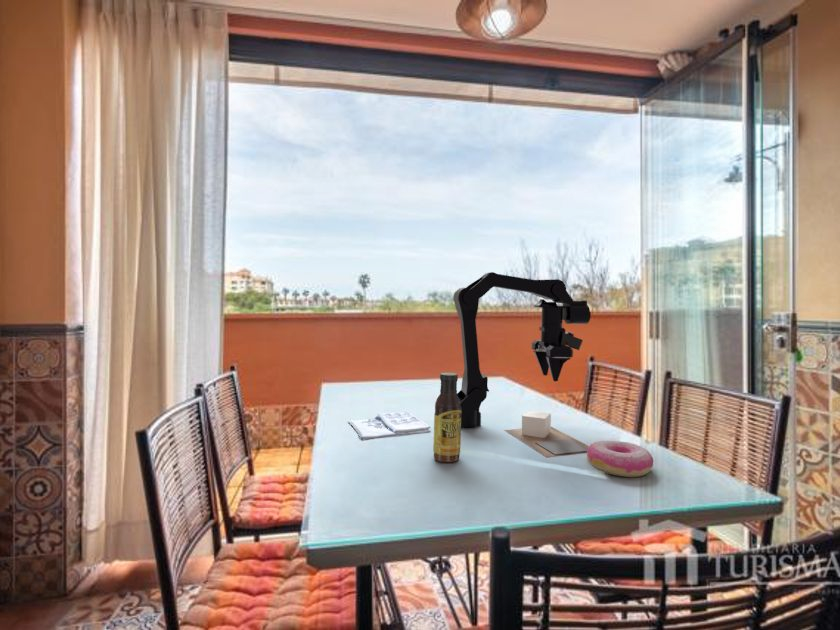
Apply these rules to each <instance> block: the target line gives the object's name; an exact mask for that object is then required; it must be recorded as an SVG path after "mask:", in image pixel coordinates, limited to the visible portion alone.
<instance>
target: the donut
mask: <svg viewBox="0 0 840 630" xmlns="http://www.w3.org/2000/svg"><path fill="white" fill-rule="evenodd" d="M588 446H589V447H588V449H587V453H586V458H587V461H588V463H589V464H590V465H591V466H593V467H594V468H596V469H598V470H601V471H604V473H605V474H608V475H614V476H619V477H627V478H635V477H642V476H644V475H646V474H649V472H651V470H652V469H653V467H654V458H653V456H652V454H651V453H650V452H649V451H648V450H647V449H646V448H645V447H643V446H641V445H638V444H635V443H631V442H626V441H621V440H597V441H594V442H593V443H591V444H589V445H588Z"/></svg>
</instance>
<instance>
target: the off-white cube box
mask: <svg viewBox="0 0 840 630" xmlns="http://www.w3.org/2000/svg"><path fill="white" fill-rule="evenodd" d="M551 419H552V413H550V412H542V411H533V410H527V411H526V412H525V413H523V415H521V429H522V435H528V436H535V437H542V438H545V437H546V436H547V435H548V434H549V433H550V432H551V427H552V426H551V423H552V420H551Z"/></svg>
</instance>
